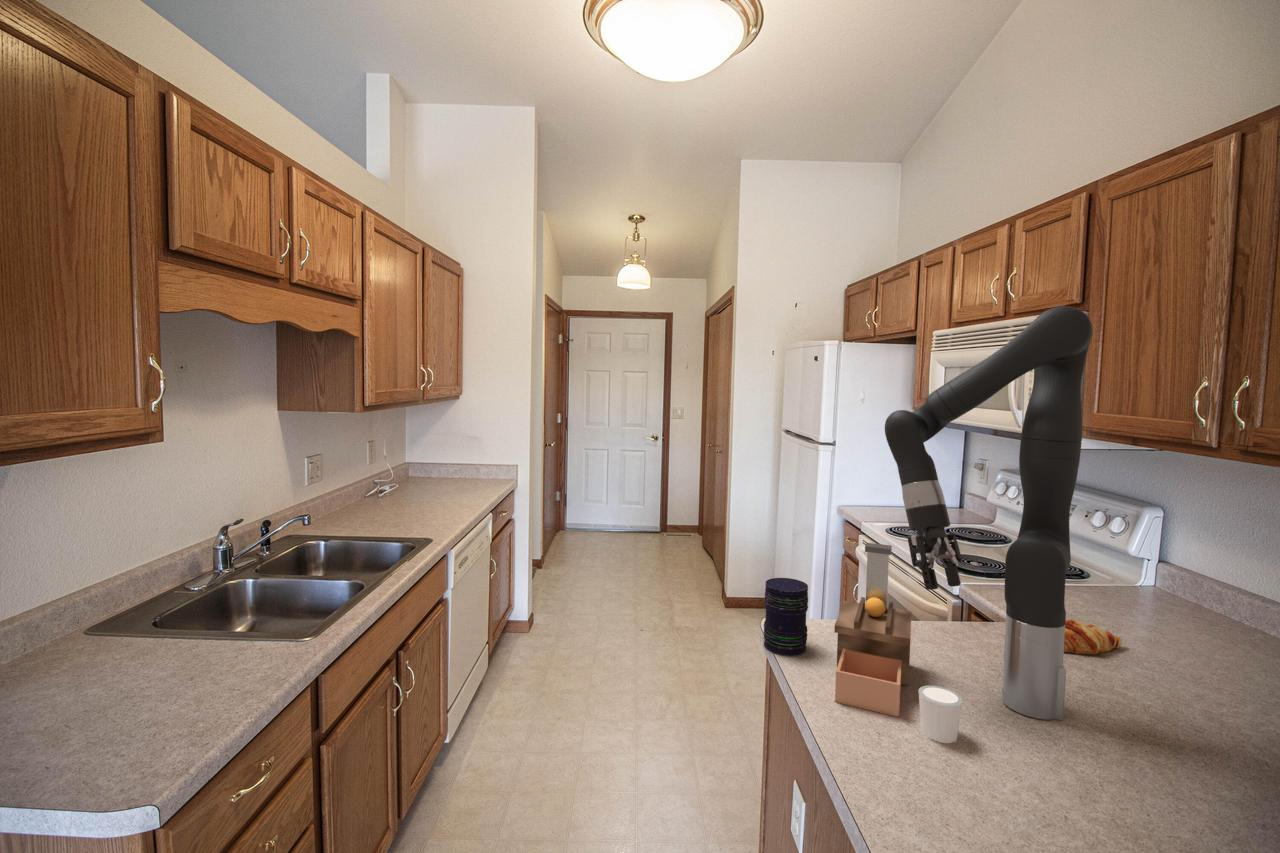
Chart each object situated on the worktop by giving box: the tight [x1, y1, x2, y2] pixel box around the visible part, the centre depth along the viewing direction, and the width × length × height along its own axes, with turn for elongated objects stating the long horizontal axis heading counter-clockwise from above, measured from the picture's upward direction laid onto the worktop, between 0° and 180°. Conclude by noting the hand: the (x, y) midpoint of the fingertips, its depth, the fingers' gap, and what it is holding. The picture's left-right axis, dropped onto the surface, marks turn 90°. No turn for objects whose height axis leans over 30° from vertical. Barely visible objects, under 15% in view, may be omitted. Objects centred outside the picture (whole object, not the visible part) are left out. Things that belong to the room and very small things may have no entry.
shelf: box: [833, 596, 912, 686], centre depth 120 cm, size 14×16×14 cm
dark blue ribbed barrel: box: [763, 577, 809, 657], centre depth 132 cm, size 10×10×15 cm
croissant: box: [1064, 619, 1123, 655], centre depth 135 cm, size 21×10×8 cm, turn 94°
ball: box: [865, 598, 885, 617], centre depth 121 cm, size 4×4×4 cm
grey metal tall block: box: [864, 542, 893, 612], centre depth 124 cm, size 5×4×14 cm
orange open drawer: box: [834, 649, 902, 718], centre depth 111 cm, size 11×11×6 cm
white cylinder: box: [918, 685, 964, 744], centre depth 99 cm, size 7×7×7 cm
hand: (943, 587), depth 111 cm, fingers open, 8 cm apart
